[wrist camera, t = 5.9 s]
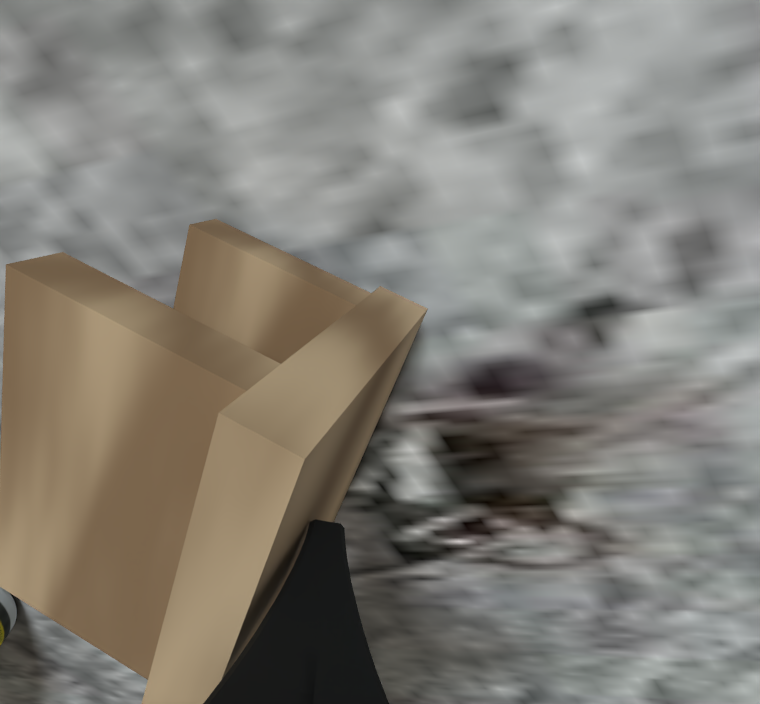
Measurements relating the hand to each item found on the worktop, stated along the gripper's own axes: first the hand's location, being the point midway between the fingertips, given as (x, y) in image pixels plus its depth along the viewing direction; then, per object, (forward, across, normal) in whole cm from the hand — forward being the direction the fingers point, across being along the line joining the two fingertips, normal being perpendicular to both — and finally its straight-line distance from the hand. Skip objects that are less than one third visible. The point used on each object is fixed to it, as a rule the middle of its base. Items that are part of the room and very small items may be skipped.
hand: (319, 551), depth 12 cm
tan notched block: (+7, +5, -1) cm, 9 cm away
